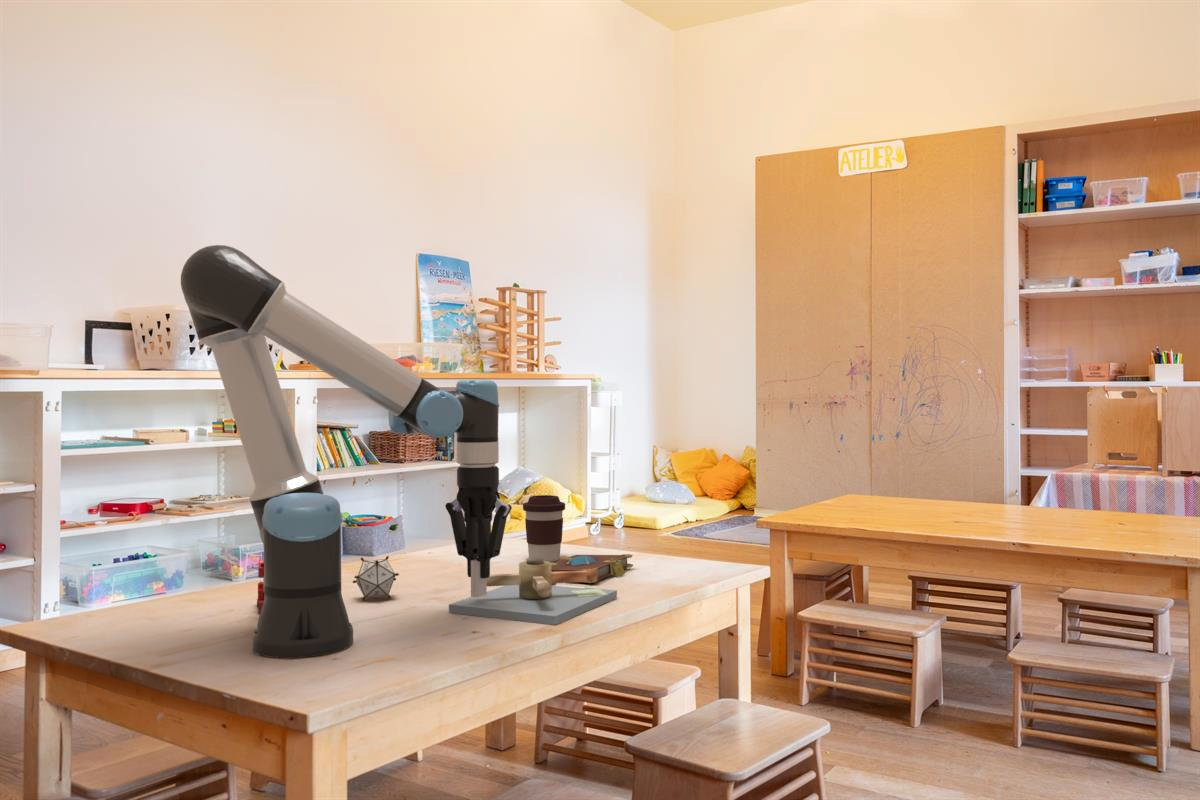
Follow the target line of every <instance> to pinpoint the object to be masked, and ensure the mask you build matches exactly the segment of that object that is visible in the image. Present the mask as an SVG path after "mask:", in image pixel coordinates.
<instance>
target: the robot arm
mask: <svg viewBox="0 0 1200 800" xmlns="http://www.w3.org/2000/svg"><path fill="white" fill-rule="evenodd" d="M184 263H185V264H184V265H183V267H182V270H181V273H180V274H181V275H180V286H181V287H180V288H181V290H182V295H183V297H184V301H185V303H186V304H187V305H186V306H187V308H188V311H189V313H190V317H191V320H192V323H193V326H194V329H195V332H196V336H197V338H198V341H199V342H200V343H201V344H203V345H205V346H207V347H209V348H210V349H211V350H212V353H213V357H214V359H215V364H216V366H217V370H218V372H219V375H220V378H221V379H220V380H221V382H222V385H223V387H224V392H225V394H226V397H227V400H228V403H229V407H230V411H231V413H232V417H233V419H234V423H235V426H236V428H237V432H238V435H239V438H240V442H241V445H242V448H243V451H244V455H245V457H246V460H247V463H248V468H249V470H250V473H251V476H252V479H253V482H254V489H253V491H252V493H251V495H250V497H249V501H250V504H251V509H252V512H253V515H254V518H255V521H256V524H257V527H258V530H259V535H260V539H261V542H262V545H263V562H264V603H263V606H262V609H261V613H259V617H258V621H257V626H256V629H255V630H254V632H253V634H252V650H253V653H255V654H257V655H259V656H264V657H269V658H270V657H271V658H282V659H283V658H284V659H285V658H289V659H292V658H306V657H307V658H308V657H315V656H322V655H327V654H332V653H336V652H339V651H342V650H345V649H347V648H349V647H351V646H352V645H353V643H354V628H353V624H352V623H351V622H350V620H349V616H348V612H347V608H346V605H345V602H344V598H343V595H342V533H341V532H342V529H341V528H342V527H341V526H342V522H343V514H342V512H341V504H340V502H339V501H338V499H337V498H335V497H334V496H331V495H328V494H324V492H323V488H322V486H321V482H320V478H319V476H317V475H315V474H313V473H311V472H309V470H308V469H307V468H306V464H305V462H304V461H305V460H304V457H303V455H302V452H301V448H300V446H299V445H300V444H299V443H298V439H297V435H296V432H295V429H294V426H293V423H292V419H291V416H290V413H289V410H288V406H287V403H286V400H285V397H284V394H283V390H282V388H281V385H280V381H279V378H278V375H277V372H276V369H275V365H274V362H273V358H272V356H271V351H270V348H269V346H268V342H267V339H266V338H268V339H269V340H271V341H273V342H274V343H276V344H278V345H279V346H281V347H283V348H284V349H285V350H287V351H289V352H291V353H292V354H294V355H296V356H297V357H299V358H300V359H302V360H304V361H305V362H308V363H309V364H311V365H312V366H314V367H316V368H317V369H318V370H320V371H322V372H323V373H325V374H327V375H328V376H330V377H332V378H333V379H335V380H337V381H339V382H340V383H341V384H343V385H345V386H347V387H348V388H350V389H352V391H355V392H356V393H358V394H359V395H361V396H363V397H365V399H368V400H369V401H371V402H373V403H374V404H376V405H378V406H380V407H381V408H382V409H384V410H386V411H387V413H388V425H389V429H390V431H391V433H393V434H396V435H398V434H401V435H406V436H409V435H418V434H419V435H424V436H428V437H430V438H433V439H440V438H444V437H448V436H450V435H452V434H455V433H456V463H457V464H458V465H460V466H458V467H457V468H456V485H457V487H458V491H457V493H456V497H455V499H454V500H452V501H450V502H447V503H446V504H445V509H446V511H447V513H448V514H449V518H450V522H451V527H452V533H453V536H454V537H453V539H454V542H455V546H456V547H455V548H456V551H457V555H458V556H460V557H461V556H462V557H464V558H465V559H466V561H467V566H466V567H467V571H466V572H467V574H466V575H467V577H468V578H470V597H481V596H484V595H487V591H488V589H487V588H488V586H486V578H488V577H489V576H490V575H491V560H492V558H496V557H499V556H500V554H501V548H502V544H503V539H504V535H505V534H504V533H505V529H506V523H507V519H508V516H509V514H510V512H511V511H512V509H513V507H512V505H511V504H506V503H505V502H504V501H503V500H501V496H500V494H499V491H498V490H499V485H500V474H499V473H500V467H498V466H496V465H497V464H498V463H499V458H500V456H499V453H500V452H499V411H500V410H499V409H500V408H499V407H500V404H499V391H498V389H499V388H498V385H497V383H496V382H495V381H494V380H491V379H487V380H486V379H482V380H481V379H479V380H478V379H477V380H476V379H475V380H471V379H469V380H468V379H466V380H464V379H462V380H458V381H457V382H456V384H455V385H456V387H455V390H451V391H450V390H449V391H447V390H443V389H440V388H438V387H437V386H435V385H434V384H433V383H430V382H429V381H427V380H425V379H424V378H422V377H421V376H419V375H418V374H417V373H415V372H413V371H412V370H411V369H409V368H407V367H405V366H404V365H403V364H401V363H399V362H398V361H396V360H394V359H393V358H392V357H390V356H388V355H387V354H386V353H384V352H382V351H380V350H378V349H377V348H376V347H374V346H373V345H371V344H370V343H367V341H364V340H363V339H361V338H360V337H358V336H357V335H355V334H353V333H352V332H350V331H349V330H347V329H345V328H344V327H342V326H341V325H339V324H337V323H336V322H335V321H333V320H332V319H330V318H328V317H327V316H325V315H324V314H322V313H320V312H319V311H317V310H316V309H314V308H313V307H311V306H310V305H308V304H306V303H304V302H303V301H302V300H300V299H298V298H296V296H294V295H292V294H290V293H289V292H288V291H287V290H286V285H285V282H283V281H282V280H281V279H279V278H278V277H276V276H274V274H271V273H270V272H268V270H267V269H265V268H263V267H262V266H261V265H259V264H258V263H257V262H256V261H254V260H253V259H252V258H251V257H249V256H248V255H247V254H245V253H244V252H242V251H241V250H239V249H237V248H235V247H233V246H228V245H226V244H224V245H221V244H215V245H214V244H213V245H208V246H204V247H202V248H200V249H198V250H196V251H195V252H194V253H192V254H191V255H190V256H189V257H188V259H187V260H186V261H185V262H184ZM494 512H495V514H494V516H493V513H494Z"/></svg>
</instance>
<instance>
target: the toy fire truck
mask: <svg viewBox="0 0 1200 800" xmlns="http://www.w3.org/2000/svg"><path fill="white" fill-rule="evenodd" d="M257 573H258V574H257V575H258V579H261V578H263V581H259V582H257V599H256V606H257V613H258V614H260V613H261V609H262V606H263V603H264V561H262V562H258V571H257Z"/></svg>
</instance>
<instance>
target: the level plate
mask: <svg viewBox="0 0 1200 800" xmlns="http://www.w3.org/2000/svg"><path fill="white" fill-rule="evenodd" d="M551 584H552V596H550V597H548V598H542V599H526V598H521V597H520V596H519V585H507V586H498V587H497V588H493V589H491V590H487V595H484V596H481V597H471V596H470V597H467V598H464V599H461V600H458V601H455V602H452V603H449V604H448V613H449V614H458V615H467V616H473V617H474V616H475V617H481V618H482V617H485V618H490V619H491V618H493V619H500V620H501V619H502V620H509V621H518V622H525V623H526V622H527V623H535V624H544V625H550V626H551V625H553V626H556V625H559V624H561V623H563V622H565V621H568V620H570V619H572V618H575V617H578V616H579V615H581V614H583V613H586V612H588V611H591V610H593V609H595V608H598V607H600V606H602V605H604V604H607V603H609V602H611V601H614V600H616V599H617V598H618V590H615V589H608V588H607V589H606V588H605V589H604V588H597V587H596V588H595V587H587V586H586V587H585V586H574V585H566V584H564V585H563V584H557V583H551Z"/></svg>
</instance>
